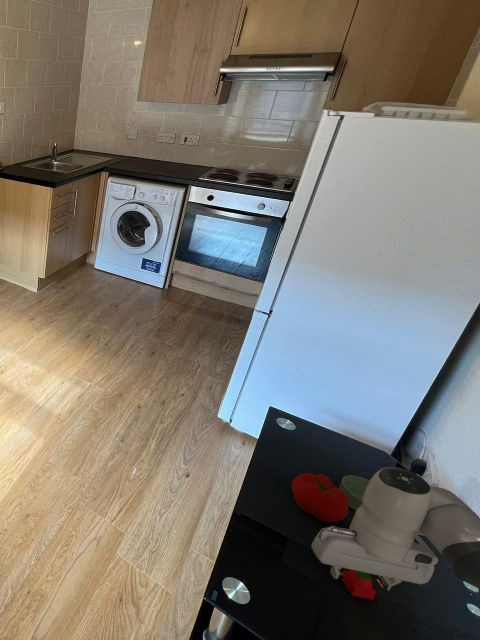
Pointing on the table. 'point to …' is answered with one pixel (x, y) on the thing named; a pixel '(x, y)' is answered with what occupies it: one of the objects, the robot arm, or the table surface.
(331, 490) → the tomato
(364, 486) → the bowl
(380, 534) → the robot arm
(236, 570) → the table surface
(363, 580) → the strawberry
